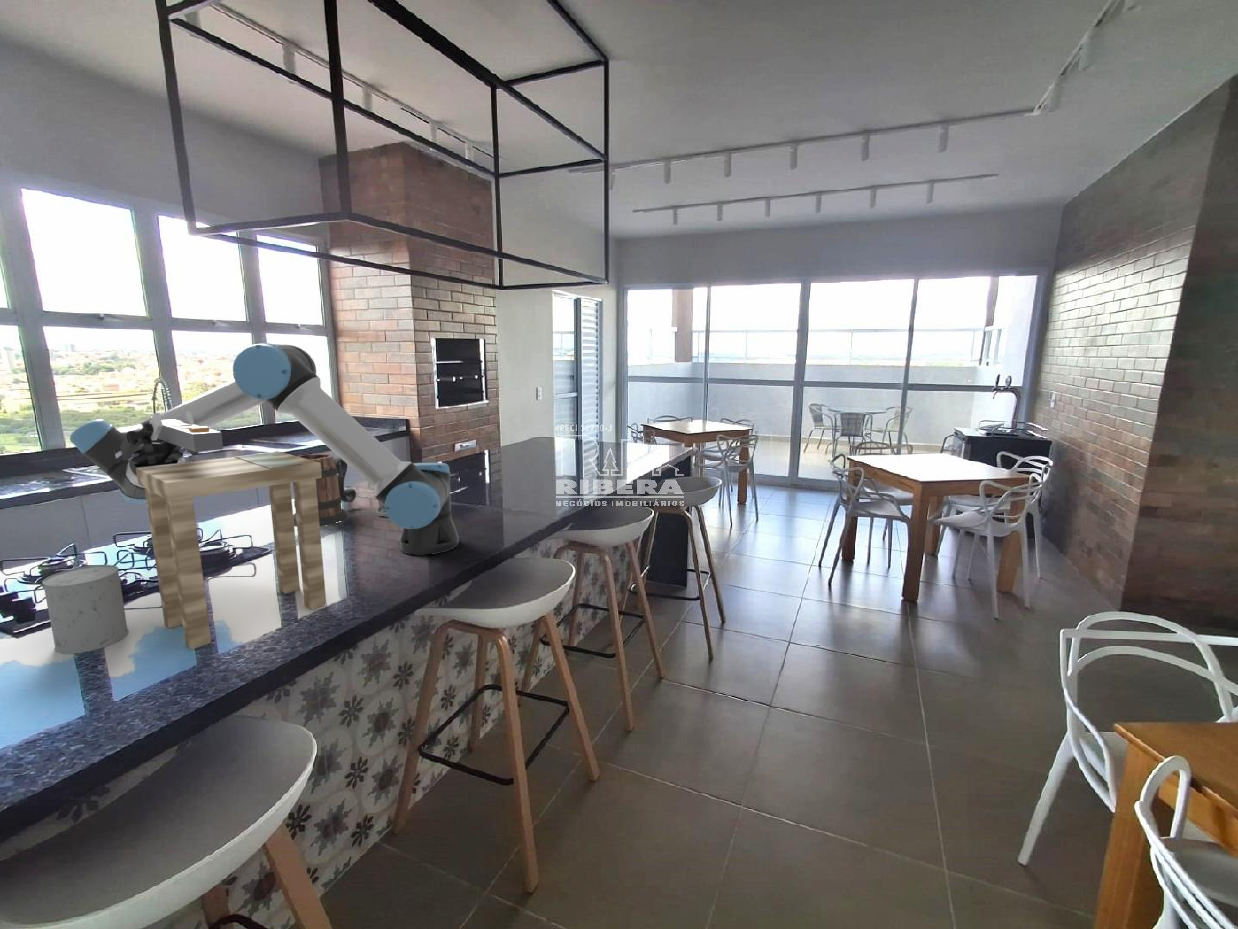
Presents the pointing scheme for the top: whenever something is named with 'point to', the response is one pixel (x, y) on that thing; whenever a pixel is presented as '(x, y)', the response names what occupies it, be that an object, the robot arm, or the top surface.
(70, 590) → the speckled concrete cylinder
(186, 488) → the shelf stand
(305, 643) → the top surface
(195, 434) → the power strip
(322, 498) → the tankard
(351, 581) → the top surface
